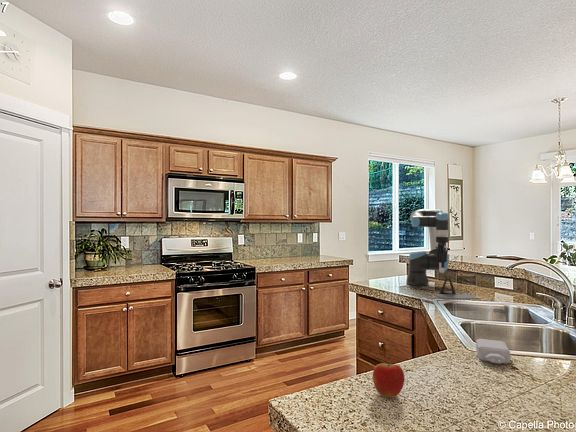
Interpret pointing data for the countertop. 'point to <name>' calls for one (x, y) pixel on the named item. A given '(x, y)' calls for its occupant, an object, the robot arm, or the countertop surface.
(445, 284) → the phone stand
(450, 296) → the mat
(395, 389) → the apple
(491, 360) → the charger
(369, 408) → the countertop surface
